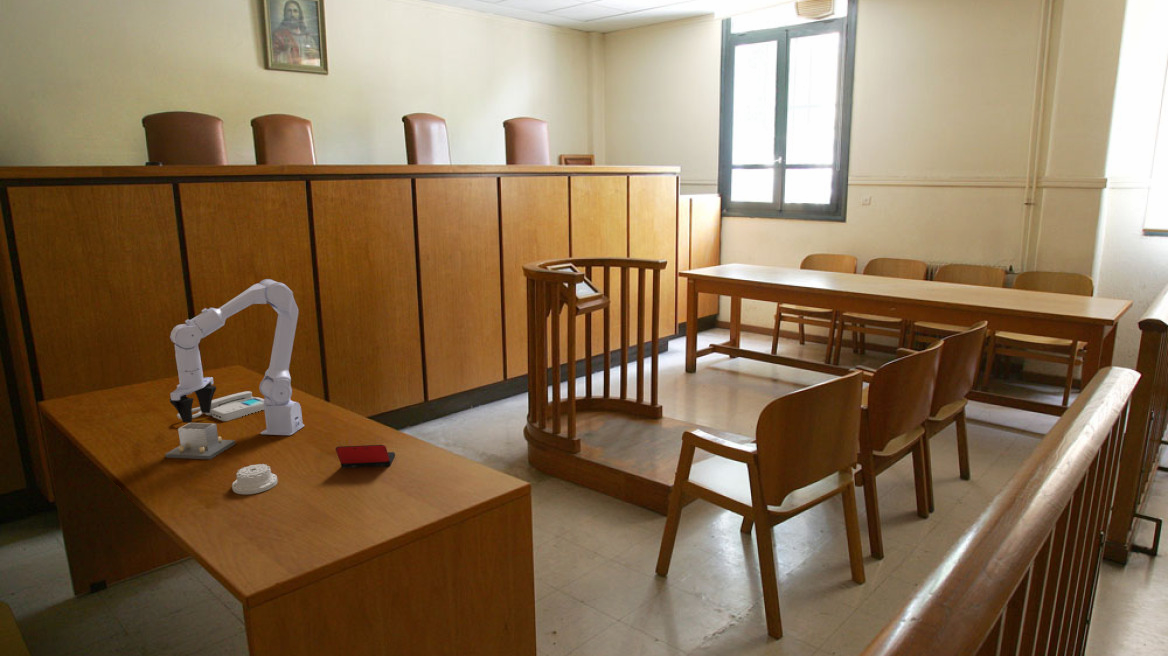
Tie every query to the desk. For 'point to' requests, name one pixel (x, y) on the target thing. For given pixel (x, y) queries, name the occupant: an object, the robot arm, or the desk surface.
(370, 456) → the handheld game console
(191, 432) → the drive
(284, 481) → the desk surface
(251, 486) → the mechanical component
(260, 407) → the intercom
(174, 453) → the tray
